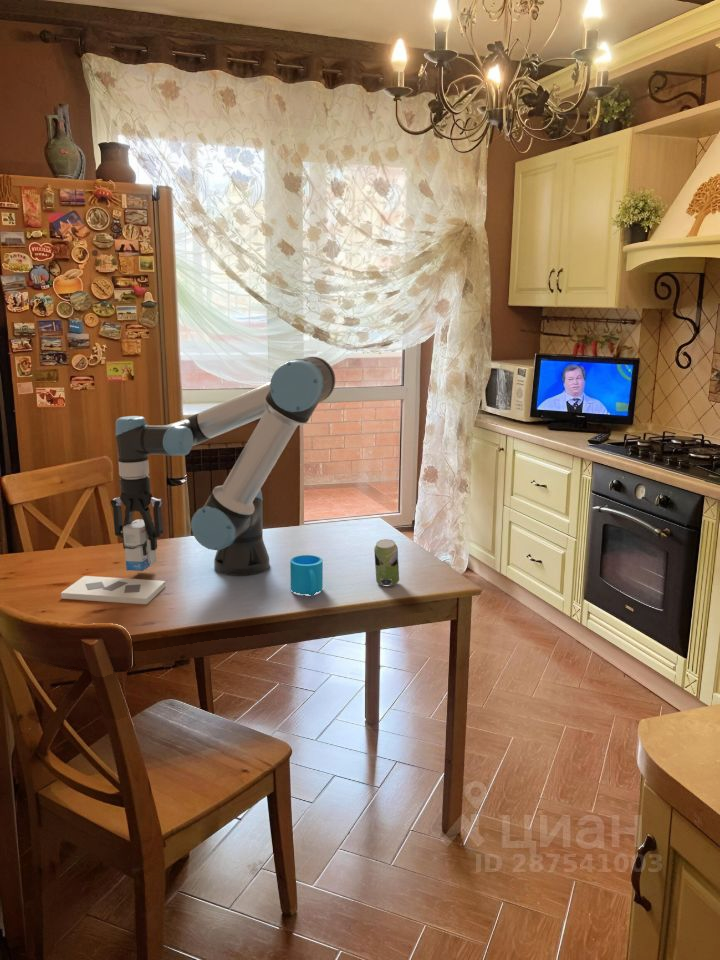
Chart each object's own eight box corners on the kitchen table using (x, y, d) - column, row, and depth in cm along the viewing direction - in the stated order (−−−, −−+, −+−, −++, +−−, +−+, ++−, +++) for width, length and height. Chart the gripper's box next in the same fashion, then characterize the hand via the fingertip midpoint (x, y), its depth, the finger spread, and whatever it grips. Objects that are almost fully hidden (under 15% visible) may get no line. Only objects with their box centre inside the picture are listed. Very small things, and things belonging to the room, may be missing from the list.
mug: (287, 586, 197) (287, 556, 195) (318, 583, 199) (318, 553, 197) (297, 603, 186) (297, 572, 184) (330, 600, 188) (330, 569, 186)
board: (165, 586, 195) (165, 580, 195) (146, 604, 184) (146, 598, 183) (84, 581, 198) (84, 575, 198) (61, 598, 186) (60, 592, 186)
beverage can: (401, 581, 201) (403, 538, 198) (393, 591, 194) (395, 546, 192) (379, 578, 203) (380, 535, 200) (370, 588, 196) (371, 543, 194)
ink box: (142, 571, 198) (139, 528, 195) (125, 570, 199) (121, 527, 196) (157, 561, 206) (154, 519, 204) (140, 560, 207) (137, 518, 204)
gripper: (173, 473, 199) (179, 557, 205) (108, 472, 202) (115, 555, 207) (162, 479, 192) (168, 567, 197) (94, 478, 195) (102, 564, 200)
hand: (141, 561), depth 202 cm, fingers closed on ink box, 5 cm apart
